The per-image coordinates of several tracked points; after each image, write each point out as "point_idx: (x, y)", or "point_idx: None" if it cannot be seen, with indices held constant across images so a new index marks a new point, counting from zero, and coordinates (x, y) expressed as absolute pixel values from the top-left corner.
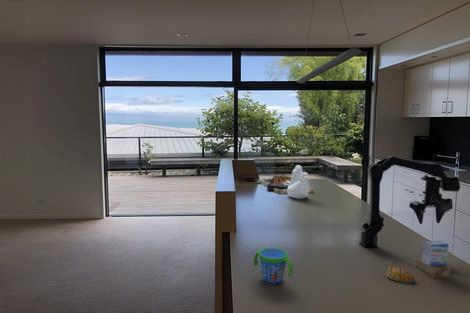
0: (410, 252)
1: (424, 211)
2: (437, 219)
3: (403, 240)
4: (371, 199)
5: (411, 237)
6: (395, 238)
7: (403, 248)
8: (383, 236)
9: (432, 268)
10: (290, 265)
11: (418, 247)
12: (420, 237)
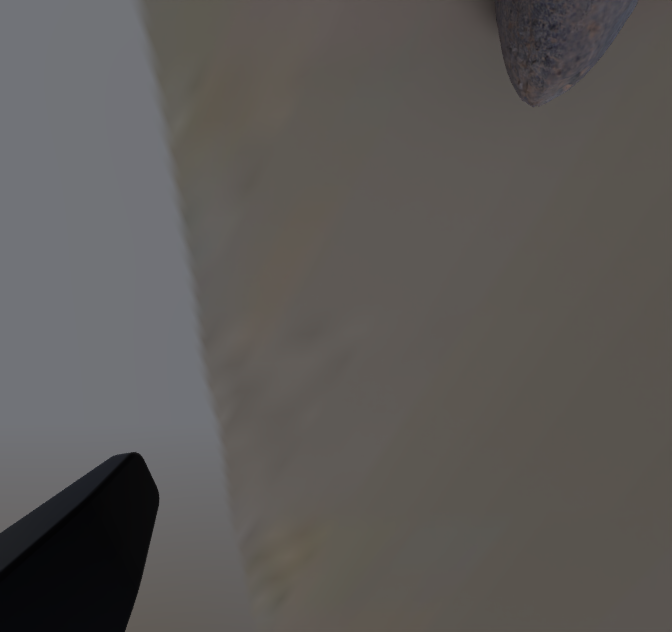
0: (656, 142)
1: None
2: (110, 563)
3: (483, 501)
4: None
5: (346, 571)
6: (536, 546)
7: (653, 276)
8: (633, 590)
9: None
10: None
11: (436, 318)
12: (253, 573)
